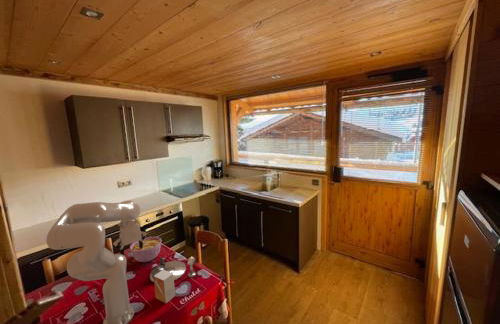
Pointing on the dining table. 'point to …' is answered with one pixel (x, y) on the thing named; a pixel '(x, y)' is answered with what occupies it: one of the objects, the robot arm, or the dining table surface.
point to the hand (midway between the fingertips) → (132, 251)
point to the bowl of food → (146, 249)
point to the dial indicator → (191, 266)
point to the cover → (157, 270)
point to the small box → (164, 286)
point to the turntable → (172, 268)
